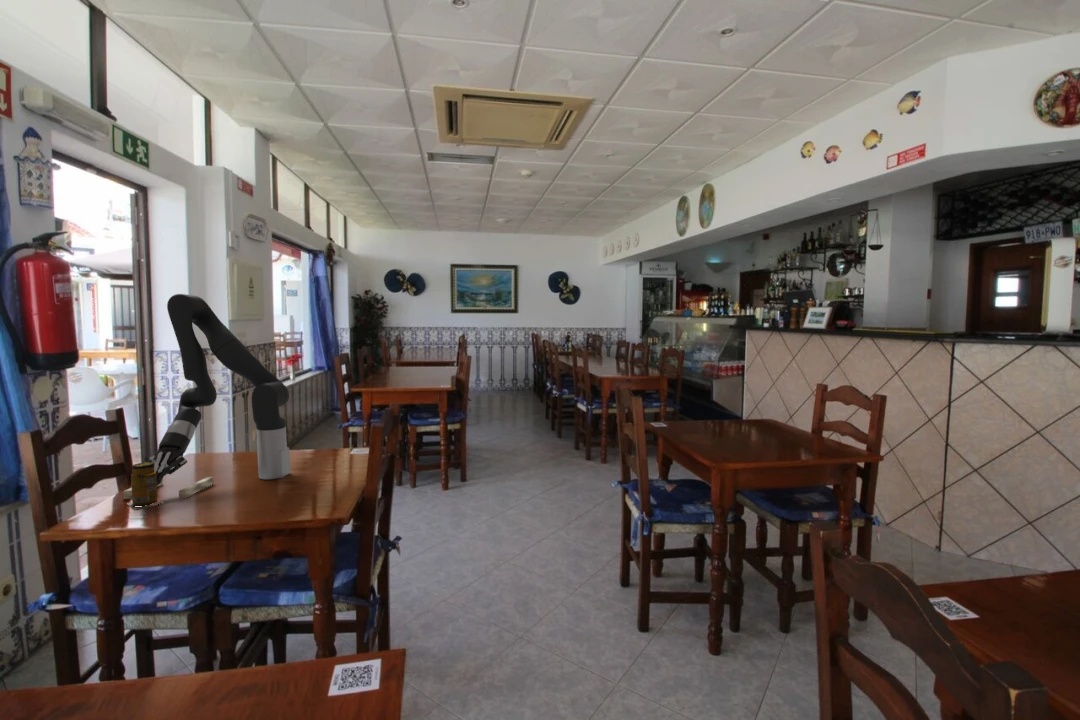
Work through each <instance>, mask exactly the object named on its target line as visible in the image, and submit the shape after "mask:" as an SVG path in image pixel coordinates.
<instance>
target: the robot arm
mask: <svg viewBox="0 0 1080 720" xmlns="http://www.w3.org/2000/svg"><path fill="white" fill-rule="evenodd" d="M166 308H167V313H168V316H169V320H170V322H171V325H172V328H173V331H174V334H175V338H176V341H177V344H178V348H179V351H180V355H181V356H180V357H181V362H182V363H181V365H182V371H183V377H184V379H185V381H190V382H194V383H195V385H196V387H189V388H187V389H185V390H184V391H183V392H182V393H181V395H180V398H179V404H178V409H177V410H178V411H177V413H176V415H175V417H174V418H173V420H172V422H171V423H170V425H169V426H168V427H167V429H166V432H165V433H164V436H163V437H162V439H161V440H160V443H159V444H158V449H157V450H156V451H155V452H154V454H153V455H152V456H150V457H149V456H145V457H144V462H152V463H154V471H155V472H156V478H157V479H156V480H157V486H158V485H159V484H160V483H161V481H162V482H163V478H164V477H166V475H172V474H173V473H175V472H176V471H178V470H179V469H180V468H182V467H183V466H184V465H186V464H187V463H188V460H187V459H186V458H185V457H184V454H185V452H186V451H187V449H188V447H189V445H190V443H191V441H192V439H193V437H194V435H195V432H196V429H197V428H198V425H199V423H200V422H201V418H202V413H201V411H199V410H198V409H197V408H202V407H210V406H212V405H214V404H215V402H216V400H217V389H216V387H215V385H214V383H213V381H212V378H211V377H210V374H209V371H208V363H207V356H206V354H205V351H204V349H203V347H202V345H201V343H200V342H199V340H198V338H197V337H196V334H195V331H194V326H193V325H195V326H196V327H197V328H198V329H199V330H200V331H201V332H202V333H203V334H204V336H205V338H206V339H207V343H208V346H209V347H208V348H209V350H210V351H211V353H212V354H213V355H214V357H215V358H216V359H217V360H218V361H219V362H220V363H221V364H222V365H223V366H224V367H226V368H227V369H228V370H230V371H231V372H232V373H235V374H237V375H238V376H241V377H243V378H244V379H245V380H247V381H249V382H250V383H251V384H252V385H253V386H254V388H253V390H252V392H251V393H252V394H251V408H252V409H251V411H252V419H253V422H254V424H255V427H256V447H257V448H256V450H257V451H256V452H257V468H258V470H257V471H258V472H257V473H258V479H260V480H276V479H283V478H285V477H286V476H288V475H289V474H291V461H290V460H291V458H290V447H289V446H287V445H288V444H287V423H286V419H285V418H284V417H282V416H281V415H280V410H279V407H282V406H284V405H286V404H287V403H288V401H289V400H290V392H289V389H288V388H287V386H286V385H285V383H283V382H282V381H281V380H280V379H279V378H277V377H276V376H275V375H274V374H273V373H271V372H270V371H269V370H268V369H267V368H266V366H264V365H263V364H262V363H261V362H260V361H259V360H258V359H257V357H256V356H255V355H254V354H252V353H251V352H250V351H249V349H248V348H247V347H246V346H245V345H244V343H242V341H241V340H240V339H238V338H237V337H236V336H235V335H234V334H233V332H232V331H231V330H230V329H229V328H228V327H227V326H226V325H225V324H224V323H223V322H222V320H220V319H219V318H218V316H217V315H216V314H215V313H214V311H213V310H212V309H211V307H210V306H209V304H208V303H207V302H206V301H205V299H203V298H202V297H200V296H197V295H194V294H186V293H176V294H173V295H172V296H171V297H170V298H169V299H168V300H167V304H166ZM158 487H159V486H158Z"/></svg>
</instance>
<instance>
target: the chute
mask: <svg viewBox="0 0 1080 720" xmlns="http://www.w3.org/2000/svg"><path fill="white" fill-rule="evenodd" d="M212 484H213V485H214V477H213V476H206V477H204V478H202V479H200V480H198V481H196V482H194V483H192V484H190V485H187V486H185V487H183V488H182V489H179V490H178V499H179V498H186V499H188V498H190V497H191V496H190V495H192V494H194V493H196V492H198V491H200V490H202V489H203V490H205V489H207V488H209V487H211V486H213V485H212ZM210 485H211V486H210ZM161 486H163V480H162V481H161V483H160V484H159V485H158V486H157V488H158V487H161ZM208 486H209V487H208ZM206 487H207V488H206ZM204 488H205V489H204ZM203 490H202V491H203ZM200 492H201V491H200ZM198 493H199V492H198ZM196 494H197V493H196ZM122 495H123V500H131V499H132V487H130V488H128V489H125V490H123V491H122ZM194 495H195V494H194ZM189 496H190V497H189ZM192 496H193V495H192ZM187 497H188V498H187Z"/></svg>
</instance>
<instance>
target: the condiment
mask: <svg viewBox="0 0 1080 720" xmlns="http://www.w3.org/2000/svg"><path fill="white" fill-rule="evenodd" d="M154 464H155V463H152V462H145V461H144V462H138V463H136V464H133V465H132V467H131V475H130V480H131V481H130V482H131V484H130V485H131V488H132V498H131V499H132V500H131V501H132V502H131V501H130V502H127V503H126V504H127V505H128V507H130V508H132V509H133V510H141V509H146V508H151V507H154V506H158V504H159V503H161V504H159V505H163V504H165V502H164V501H162V500H160V499H159V500H160V502H159V503H157V504H154V505H153V506H152V505H150V504H152V503H155V502H157V498H158V487H157V480H156V479H157V478H156V472H155V471H154V466H155V465H154ZM145 505H147V506H145ZM135 506H142V507H135Z"/></svg>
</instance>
